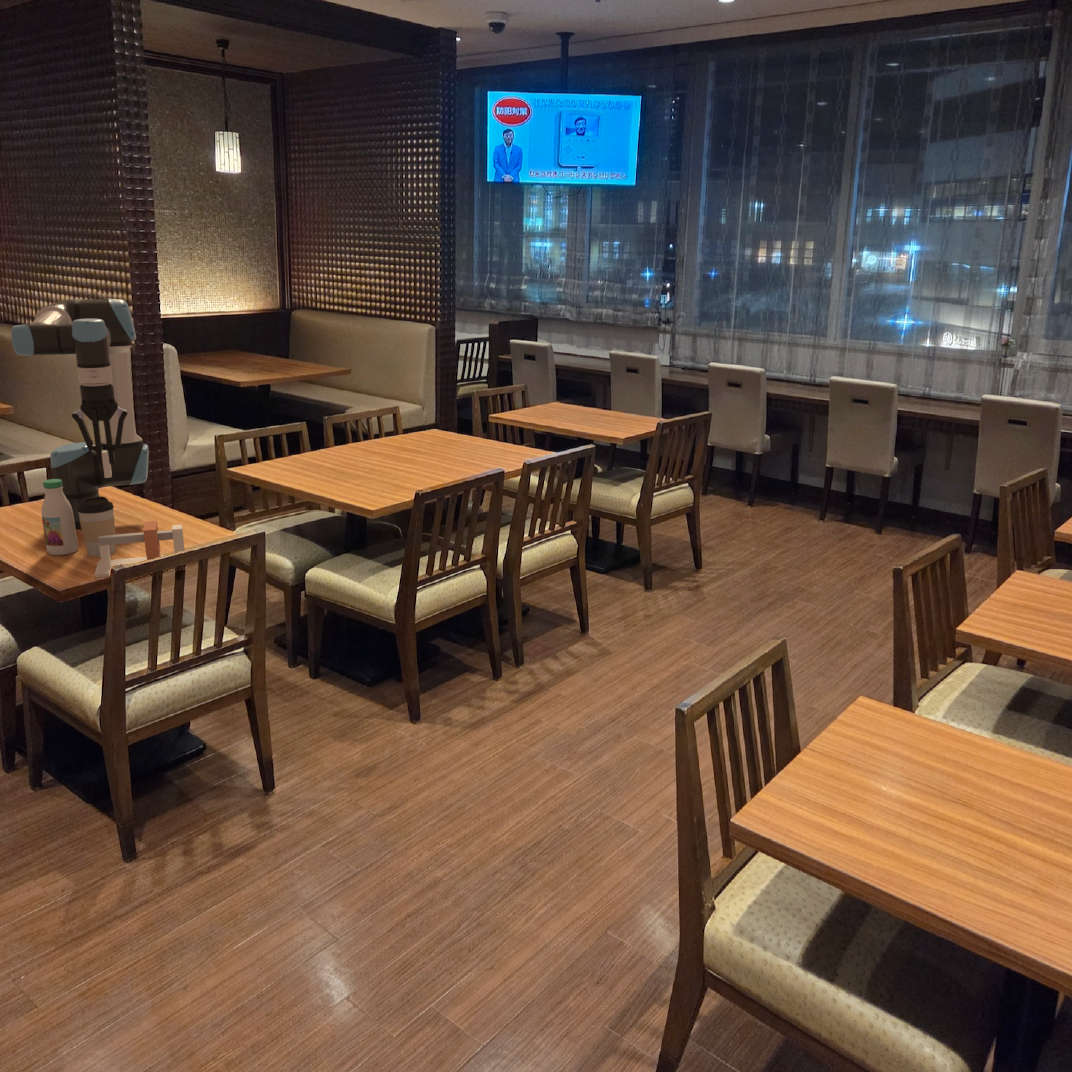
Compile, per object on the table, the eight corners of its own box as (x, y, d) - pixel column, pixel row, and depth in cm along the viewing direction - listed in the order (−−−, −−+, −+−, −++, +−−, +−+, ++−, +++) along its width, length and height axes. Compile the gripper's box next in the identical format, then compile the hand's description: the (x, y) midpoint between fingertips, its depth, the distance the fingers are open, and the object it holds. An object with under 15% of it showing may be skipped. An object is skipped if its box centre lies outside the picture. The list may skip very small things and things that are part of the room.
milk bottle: (70, 545, 266) (60, 475, 260) (83, 551, 262) (73, 480, 256) (42, 551, 261) (30, 480, 254) (55, 558, 256) (44, 486, 250)
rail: (98, 563, 252) (93, 527, 249) (187, 555, 259) (183, 520, 256) (94, 577, 242) (89, 540, 239) (186, 569, 249) (183, 532, 246)
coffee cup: (106, 559, 256) (98, 505, 251) (76, 556, 257) (68, 503, 253) (126, 548, 264) (119, 496, 259) (97, 546, 266) (90, 494, 261)
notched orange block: (148, 550, 254) (144, 521, 251) (160, 549, 255) (156, 520, 252) (146, 560, 247) (143, 530, 244) (159, 559, 247) (155, 529, 245)
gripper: (65, 387, 230) (78, 482, 237) (123, 384, 234) (135, 478, 241) (68, 382, 236) (81, 474, 244) (125, 380, 240) (136, 471, 248)
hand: (108, 476), depth 243 cm, fingers closed
